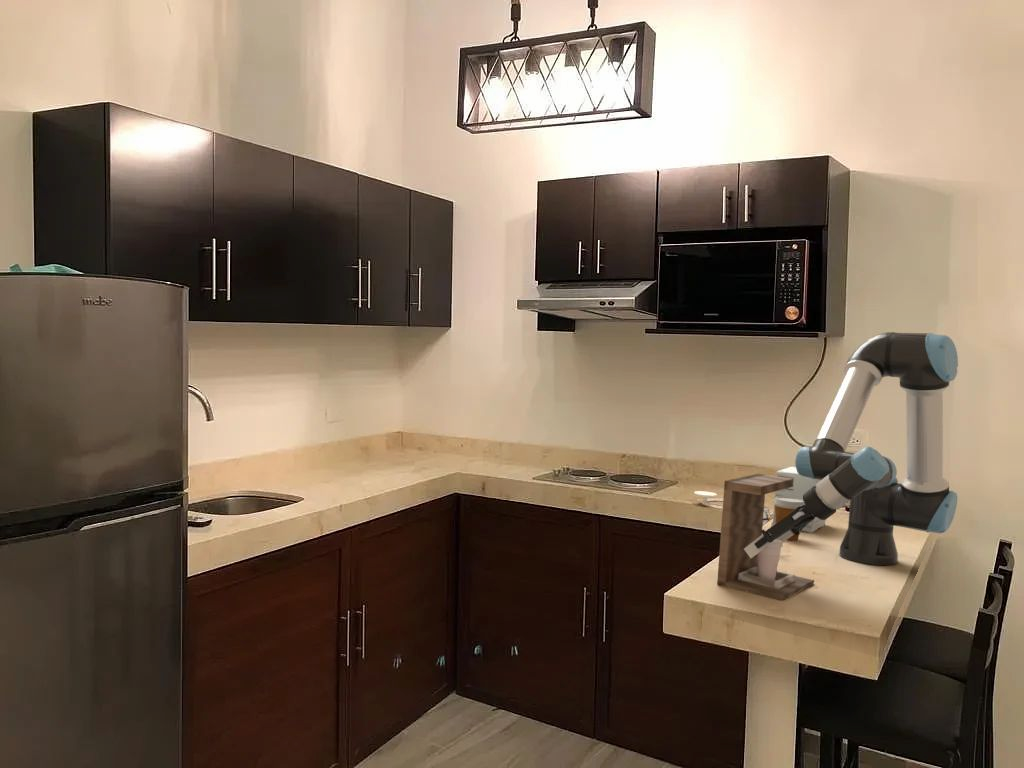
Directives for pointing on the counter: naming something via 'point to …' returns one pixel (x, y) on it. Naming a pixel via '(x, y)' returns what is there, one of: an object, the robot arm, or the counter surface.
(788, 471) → the supplement box
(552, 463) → the counter surface
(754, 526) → the overhang shelf
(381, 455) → the counter surface
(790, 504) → the disposable coffee cup
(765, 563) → the smoothie
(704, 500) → the hand towel holder
